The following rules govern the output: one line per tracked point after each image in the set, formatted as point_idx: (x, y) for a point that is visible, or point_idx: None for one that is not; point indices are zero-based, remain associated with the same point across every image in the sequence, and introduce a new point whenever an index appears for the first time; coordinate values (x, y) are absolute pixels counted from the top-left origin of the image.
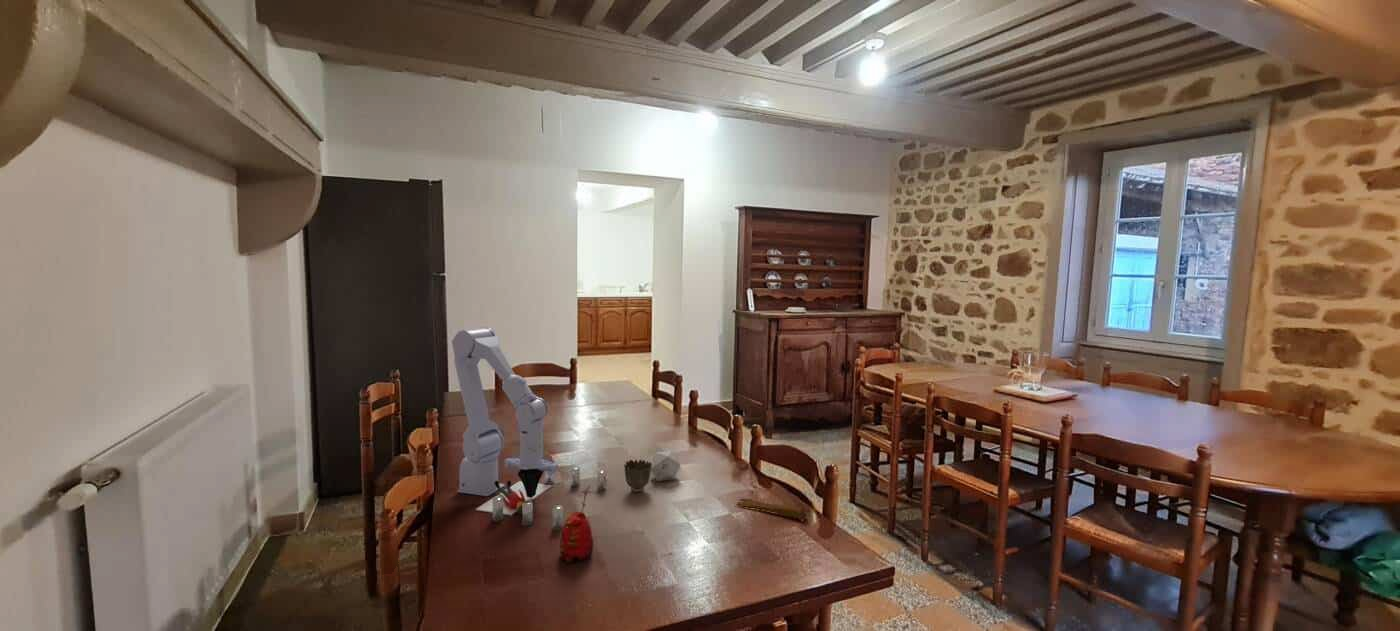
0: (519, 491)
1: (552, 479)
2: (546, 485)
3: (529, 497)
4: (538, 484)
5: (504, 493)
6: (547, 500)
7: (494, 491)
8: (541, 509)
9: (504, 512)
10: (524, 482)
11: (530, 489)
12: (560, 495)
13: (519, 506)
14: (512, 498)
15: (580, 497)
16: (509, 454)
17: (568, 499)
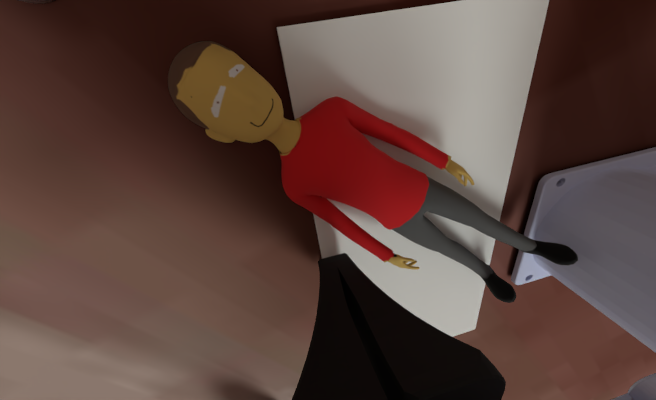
0: (399, 255)
1: None
2: None
3: None
4: None
5: (472, 204)
6: (254, 293)
7: (530, 223)
8: (184, 209)
9: (345, 36)
10: (388, 316)
11: (328, 292)
12: (246, 348)
13: (202, 52)
14: (376, 158)
15: (147, 382)
16: (570, 391)
17: (175, 347)
